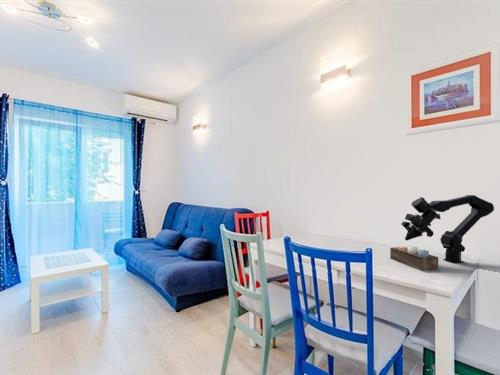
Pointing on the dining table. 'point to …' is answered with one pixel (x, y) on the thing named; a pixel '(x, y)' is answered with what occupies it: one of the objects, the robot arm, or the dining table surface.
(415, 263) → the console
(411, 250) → the cream button
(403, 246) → the terracotta button
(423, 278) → the dining table surface
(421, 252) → the slate button
